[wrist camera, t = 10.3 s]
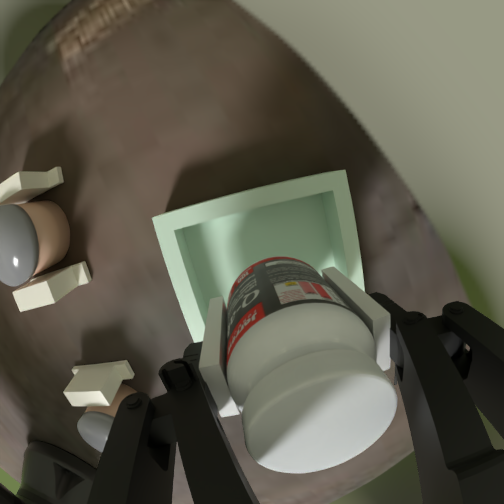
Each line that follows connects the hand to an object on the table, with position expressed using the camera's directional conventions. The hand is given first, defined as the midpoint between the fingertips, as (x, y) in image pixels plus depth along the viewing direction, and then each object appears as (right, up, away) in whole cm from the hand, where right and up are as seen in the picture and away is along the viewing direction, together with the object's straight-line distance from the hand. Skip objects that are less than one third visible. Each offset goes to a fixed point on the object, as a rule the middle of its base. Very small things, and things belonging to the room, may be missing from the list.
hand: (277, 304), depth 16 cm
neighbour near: (-17, +4, +1) cm, 18 cm away
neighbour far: (-13, -11, +5) cm, 18 cm away
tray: (0, +1, +3) cm, 3 cm away
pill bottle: (0, 0, +1) cm, 1 cm away
